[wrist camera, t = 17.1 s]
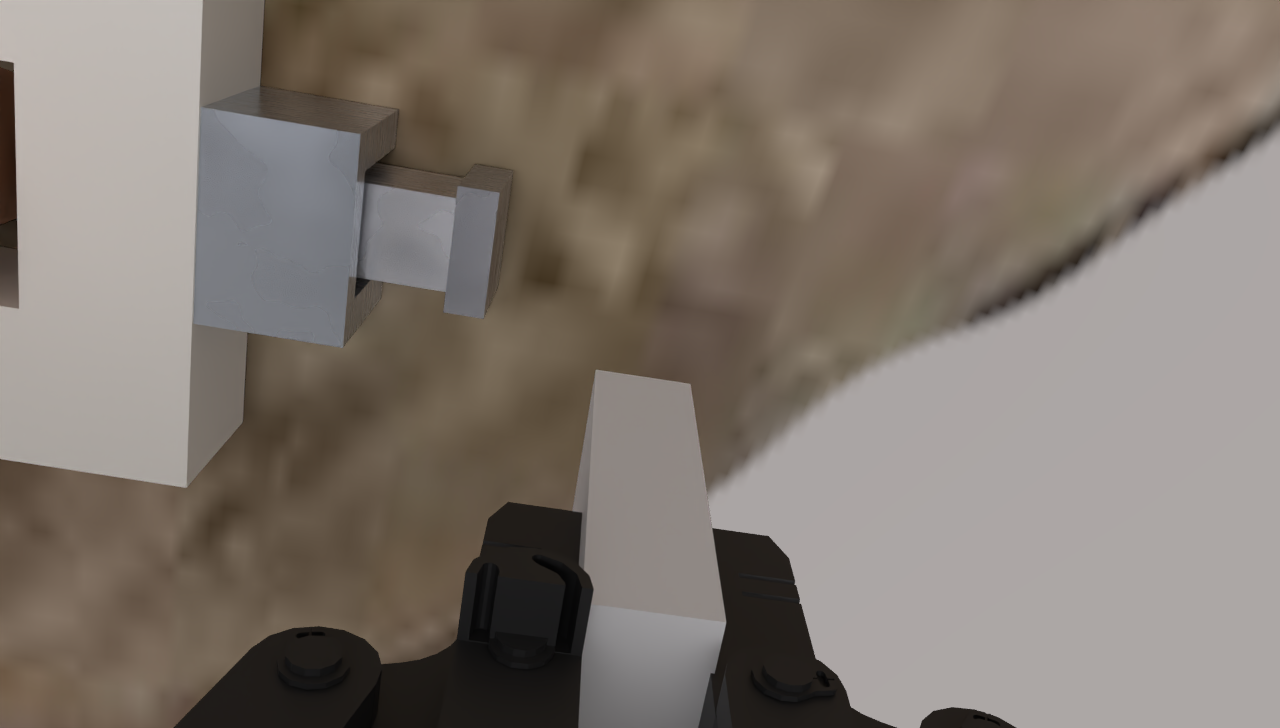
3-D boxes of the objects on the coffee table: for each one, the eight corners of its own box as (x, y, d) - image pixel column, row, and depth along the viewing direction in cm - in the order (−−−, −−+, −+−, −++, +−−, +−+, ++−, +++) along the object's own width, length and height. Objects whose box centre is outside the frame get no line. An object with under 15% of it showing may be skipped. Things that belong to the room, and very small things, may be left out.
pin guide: (250, 276, 31) (193, 323, 27) (260, 85, 30) (200, 107, 26) (380, 298, 31) (342, 347, 28) (398, 109, 30) (360, 134, 26)
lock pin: (126, 225, 30) (76, 251, 28) (127, 105, 29) (75, 121, 27) (498, 287, 31) (483, 318, 28) (513, 170, 30) (499, 192, 27)
